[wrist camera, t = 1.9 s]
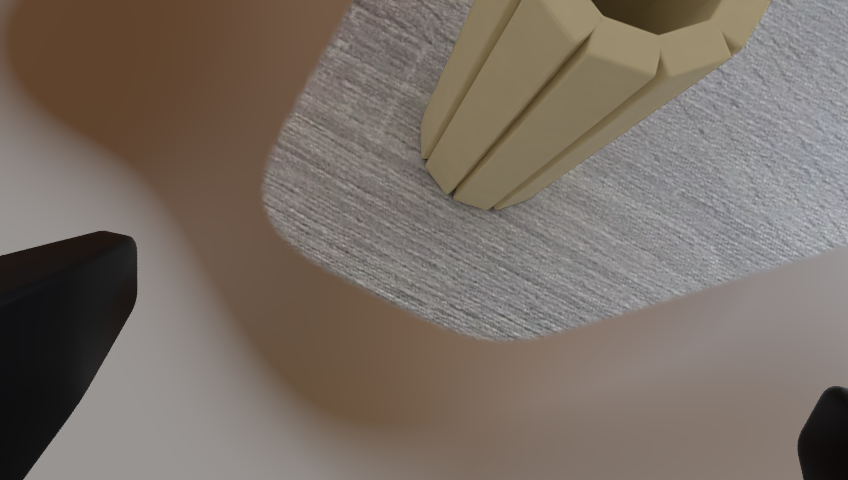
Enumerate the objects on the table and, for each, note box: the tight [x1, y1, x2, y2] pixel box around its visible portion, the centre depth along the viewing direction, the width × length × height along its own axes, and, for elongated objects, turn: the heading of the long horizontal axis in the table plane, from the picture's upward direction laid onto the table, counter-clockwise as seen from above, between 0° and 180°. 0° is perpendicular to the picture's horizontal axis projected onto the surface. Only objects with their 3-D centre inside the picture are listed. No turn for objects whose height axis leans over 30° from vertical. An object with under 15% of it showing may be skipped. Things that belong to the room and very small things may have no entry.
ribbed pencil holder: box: [420, 0, 772, 210], centre depth 19 cm, size 5×5×12 cm
